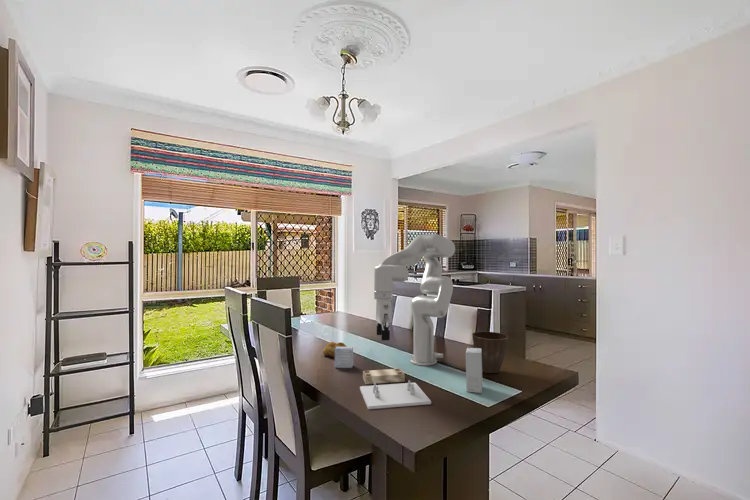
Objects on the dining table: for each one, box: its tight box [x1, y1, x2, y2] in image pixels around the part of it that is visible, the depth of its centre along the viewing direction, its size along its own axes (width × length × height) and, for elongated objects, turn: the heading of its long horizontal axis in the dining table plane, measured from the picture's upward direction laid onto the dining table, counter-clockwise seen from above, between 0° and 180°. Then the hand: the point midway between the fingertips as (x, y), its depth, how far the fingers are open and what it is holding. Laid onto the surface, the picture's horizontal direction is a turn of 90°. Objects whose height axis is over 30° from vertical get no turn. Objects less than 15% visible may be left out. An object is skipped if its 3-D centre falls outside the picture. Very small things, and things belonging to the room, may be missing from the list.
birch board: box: [362, 368, 406, 385], centre depth 146 cm, size 16×7×3 cm, turn 101°
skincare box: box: [465, 347, 484, 394], centre depth 136 cm, size 8×6×15 cm
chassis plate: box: [359, 379, 432, 410], centre depth 129 cm, size 22×18×4 cm
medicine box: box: [334, 346, 354, 369], centre depth 163 cm, size 8×4×9 cm, turn 84°
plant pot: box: [471, 331, 509, 374], centre depth 156 cm, size 15×15×16 cm
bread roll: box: [322, 341, 348, 359], centre depth 180 cm, size 13×10×8 cm
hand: (382, 337), depth 146 cm, fingers open, 9 cm apart
